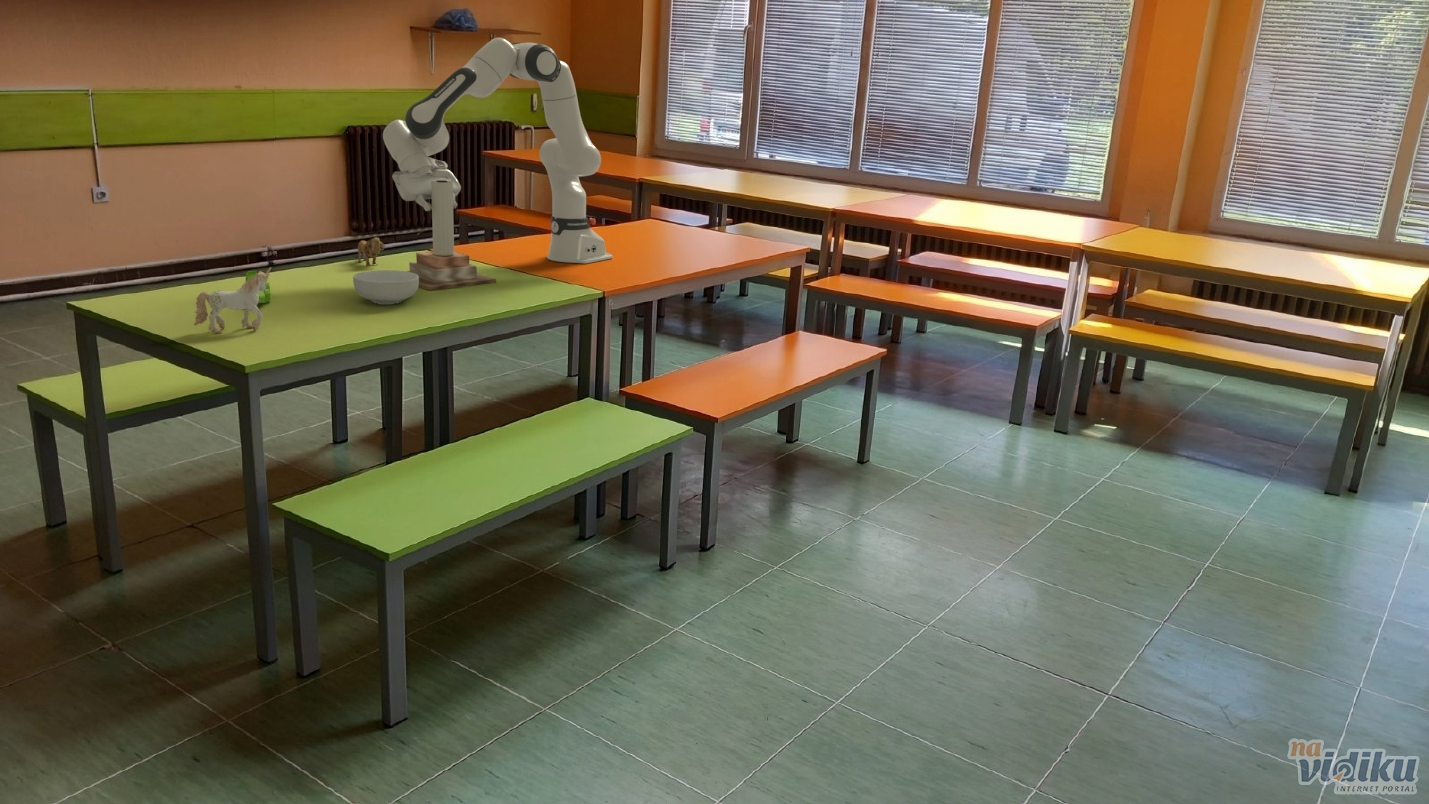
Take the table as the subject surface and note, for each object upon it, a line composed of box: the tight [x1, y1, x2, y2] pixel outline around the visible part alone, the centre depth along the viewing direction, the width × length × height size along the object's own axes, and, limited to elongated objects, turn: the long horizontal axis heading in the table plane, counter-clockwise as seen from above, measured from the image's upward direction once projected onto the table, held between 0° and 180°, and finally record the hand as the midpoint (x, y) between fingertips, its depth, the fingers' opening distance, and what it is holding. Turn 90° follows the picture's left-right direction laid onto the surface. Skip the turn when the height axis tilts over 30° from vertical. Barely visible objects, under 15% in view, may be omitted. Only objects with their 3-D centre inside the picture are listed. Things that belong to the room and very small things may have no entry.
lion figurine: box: [355, 237, 386, 267], centre depth 325 cm, size 15×5×9 cm, turn 48°
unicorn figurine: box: [193, 266, 272, 335], centre depth 246 cm, size 7×20×13 cm, turn 137°
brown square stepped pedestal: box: [406, 250, 497, 291], centre depth 311 cm, size 22×22×8 cm
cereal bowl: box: [352, 269, 419, 305], centre depth 282 cm, size 17×17×7 cm
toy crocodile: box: [245, 270, 271, 304], centre depth 275 cm, size 20×7×6 cm, turn 22°
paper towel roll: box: [431, 180, 455, 256], centre depth 306 cm, size 7×6×21 cm
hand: (442, 208), depth 305 cm, fingers open, 8 cm apart
